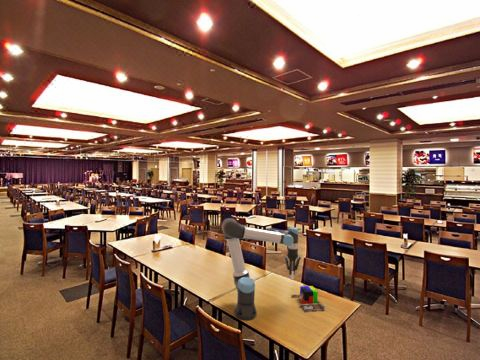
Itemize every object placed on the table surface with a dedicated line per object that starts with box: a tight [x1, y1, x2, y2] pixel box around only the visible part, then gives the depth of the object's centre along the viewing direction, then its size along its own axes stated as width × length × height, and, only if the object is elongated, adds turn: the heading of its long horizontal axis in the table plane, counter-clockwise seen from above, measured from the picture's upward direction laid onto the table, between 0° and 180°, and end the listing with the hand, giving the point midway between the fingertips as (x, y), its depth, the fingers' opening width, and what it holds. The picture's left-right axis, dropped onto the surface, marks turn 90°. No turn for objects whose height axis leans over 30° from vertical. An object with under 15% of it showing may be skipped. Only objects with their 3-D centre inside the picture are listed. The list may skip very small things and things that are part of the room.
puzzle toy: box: [299, 285, 319, 304], centre depth 197 cm, size 10×10×10 cm
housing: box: [290, 293, 327, 313], centre depth 192 cm, size 17×24×4 cm
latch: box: [304, 305, 313, 310], centre depth 183 cm, size 6×2×3 cm, turn 100°
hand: (291, 279), depth 195 cm, fingers closed
